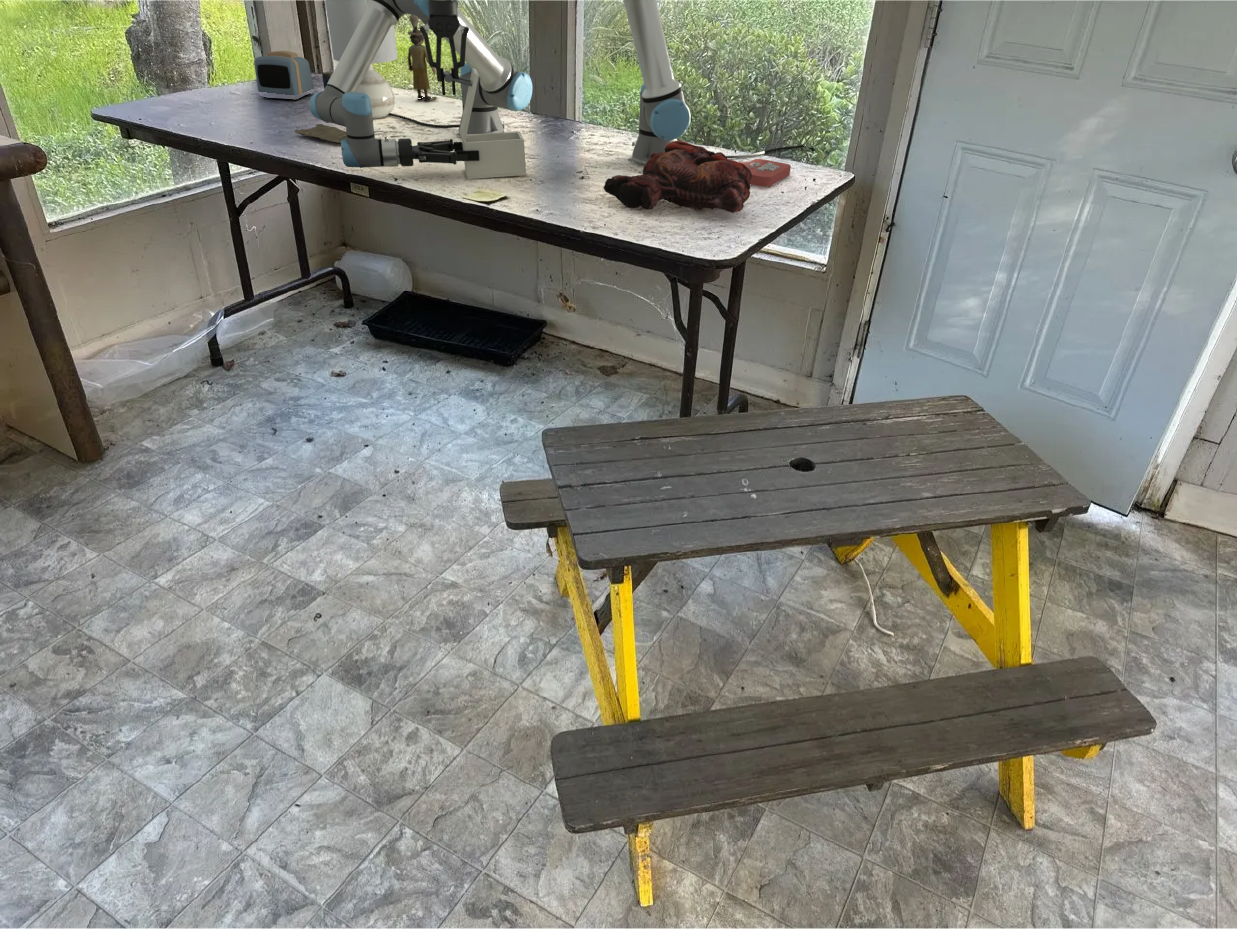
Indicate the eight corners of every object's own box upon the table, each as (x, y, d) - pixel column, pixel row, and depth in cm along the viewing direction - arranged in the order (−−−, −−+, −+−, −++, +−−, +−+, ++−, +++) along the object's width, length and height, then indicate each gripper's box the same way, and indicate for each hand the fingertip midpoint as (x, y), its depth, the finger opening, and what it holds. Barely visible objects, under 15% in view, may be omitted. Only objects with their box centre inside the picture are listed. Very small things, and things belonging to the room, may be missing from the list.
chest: (522, 166, 256) (519, 131, 250) (526, 175, 249) (523, 139, 243) (465, 170, 253) (461, 134, 247) (467, 179, 246) (463, 142, 240)
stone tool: (292, 135, 280) (343, 148, 268) (291, 126, 278) (342, 139, 267) (320, 129, 287) (370, 142, 276) (318, 120, 286) (369, 133, 274)
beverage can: (339, 109, 314) (334, 74, 307) (318, 108, 314) (312, 73, 307) (346, 104, 321) (341, 69, 314) (325, 103, 321) (320, 69, 314)
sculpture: (769, 218, 227) (775, 169, 218) (687, 248, 212) (691, 197, 203) (663, 172, 252) (665, 126, 244) (583, 196, 237) (582, 148, 229)
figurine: (443, 98, 335) (436, 13, 318) (431, 103, 327) (423, 15, 310) (418, 96, 337) (410, 11, 321) (406, 100, 330) (397, 13, 313)
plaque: (748, 154, 263) (793, 162, 256) (746, 167, 265) (791, 175, 258) (722, 166, 250) (769, 175, 244) (721, 179, 252) (767, 189, 246)
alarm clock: (257, 98, 324) (248, 53, 316) (278, 90, 338) (270, 46, 329) (297, 101, 323) (289, 55, 314) (317, 93, 336) (310, 49, 327)
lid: (476, 68, 238) (445, 59, 236) (478, 75, 231) (447, 65, 228) (462, 133, 247) (433, 125, 244) (465, 141, 240) (434, 133, 237)
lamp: (416, 115, 310) (403, -11, 287) (372, 125, 294) (355, -7, 272) (373, 106, 319) (358, -16, 296) (328, 116, 304) (309, -13, 281)
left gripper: (397, 148, 231) (480, 147, 235) (396, 129, 249) (473, 128, 253) (400, 176, 235) (481, 174, 239) (399, 156, 253) (475, 154, 257)
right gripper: (412, -1, 219) (421, 97, 232) (472, 0, 222) (477, 96, 235) (412, -4, 225) (420, 91, 238) (470, -3, 228) (475, 91, 241)
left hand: (477, 150), depth 246 cm, fingers closed on chest, 9 cm apart
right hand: (449, 93), depth 236 cm, fingers closed on lid, 2 cm apart
